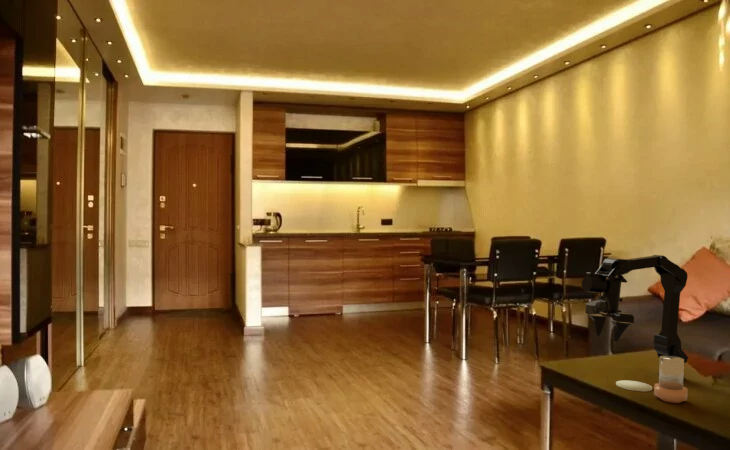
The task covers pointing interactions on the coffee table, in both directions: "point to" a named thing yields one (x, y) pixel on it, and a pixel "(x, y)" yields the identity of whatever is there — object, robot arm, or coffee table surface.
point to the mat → (634, 385)
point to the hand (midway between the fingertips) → (606, 338)
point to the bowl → (670, 394)
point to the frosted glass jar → (671, 372)
